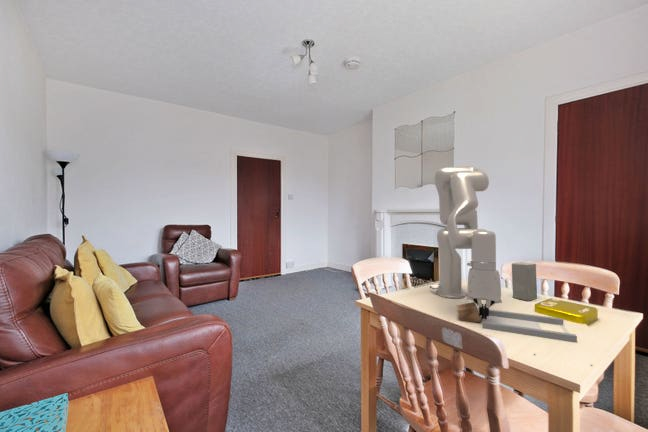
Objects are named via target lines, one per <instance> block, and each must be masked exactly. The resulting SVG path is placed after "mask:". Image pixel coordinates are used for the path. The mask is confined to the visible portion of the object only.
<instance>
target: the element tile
mask: <svg viewBox="0 0 648 432" xmlns="http://www.w3.org/2000/svg"><path fill="white" fill-rule="evenodd" d="M598 311H599V309H598V308H597V307H594V306H590V305H585V304H581V303H575V302H570V301H566V300H562V299H557V298H547V299H544V300H542V301H540V302H537V303H535V304H534V312H535V313H537V314H540V315H543V316H547V317H554V318H562V319H563V321H567V322H572V323H576V324H581V325H584V324H585V326H587V327H589V326H590V325H592V324H593V323H595V322H597V321H598V318H599V317H598Z"/></svg>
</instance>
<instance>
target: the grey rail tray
mask: <svg viewBox="0 0 648 432" xmlns="http://www.w3.org/2000/svg"><path fill="white" fill-rule="evenodd" d="M539 323H541V324H550V325H556V326H560V328H561V329H562V330H563V331H564V332H561V331H556V330H547V329H542V327H541V326H540V324H539ZM481 324H482V329H484V330H485V329H486V330H491V331H499V332H504V333H512V334H519V335H525V336H532V337H538V338H545V339H550V340H557V341H563V342H570V343H571V342H572V343H578V336H577V335H576V333H575V334H574V333H570V332H569V331H568V330H567V329H568V328H566V327H565V325H564V320H563V319H562V318H555V317H551V316H547V315H537V314H531V313H530V314H528V313H523V312H522V313H521V312H512V311H505V310H504V311H503V310H497V309H496V310H495V309H490V308H489V316H487V319H482V318H481Z"/></svg>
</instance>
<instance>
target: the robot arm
mask: <svg viewBox="0 0 648 432" xmlns="http://www.w3.org/2000/svg"><path fill="white" fill-rule="evenodd" d="M489 180H490V179H489V177H488V175H487V173H486V171H484V170H482V169H480V168H478V167H476V166H447V167H441V168H439V169H436V171H435V174H434V184H435V188H436V191H437V195H438V199H439V200H438V201H439V203H438V205H439V219H440V223H441V224H442V225H445V226H446V227H445V228H441V229H440V230H438V231H437V234H436V240H437V246H438V255H439V256H438V257H439V258H438V260H439V261H438V262H439V263H438V264H439V271H438V272H439V283H437V284H433V283H430V284H429V289H432V290H436V291H435V293H436V295H437V296H439V297H442V298H445V299H463V298H466V299H467V300H469V301H471V302H475V304H476V306H478V312H479V315H480V318H481V320H482V319H487V316H489V309H490V308H491V307H492V306H494V304H502V303H503V300H502V286H501V277H500V276H501V275H500V272H499V270H497V244H496V243H497V237H496V233H495V232H494V231H492V230H487V229H484V228H478V226H479V225H478V213H477V208H478V206H479V201H478V196H477V192H484V191H486V190H487V189H488V187H489V185H490V181H489ZM458 226H464V227H458ZM456 249H457V250H470V252H471V253H470V254H471V257H470V258H471V260H470V261H466V266H468V267H470V268H469V270H468V274H467V295H466V292H464V291H463V290H462V287H463V286H462V285H463V283H462V257H461V255H460V253H459V252H458V251H457V250H456ZM482 300H484V301H485V303H484V304H483V303H482Z"/></svg>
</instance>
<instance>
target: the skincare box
mask: <svg viewBox="0 0 648 432" xmlns="http://www.w3.org/2000/svg"><path fill="white" fill-rule="evenodd" d="M511 282H512V298H514V299H518V300H522V301H525V302H529V301H532V300H535V299H538V288H537V287H538V285H537V264H536V263H534V262H533V263H531V262H523V261H522V262H513V263H511Z"/></svg>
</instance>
